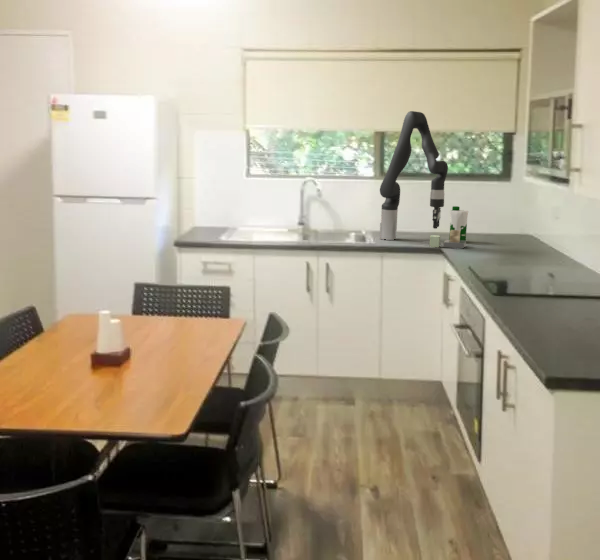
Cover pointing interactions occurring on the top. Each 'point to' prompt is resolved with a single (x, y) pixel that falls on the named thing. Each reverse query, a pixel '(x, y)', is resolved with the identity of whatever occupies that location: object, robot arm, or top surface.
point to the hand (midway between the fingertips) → (436, 227)
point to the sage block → (434, 241)
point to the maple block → (454, 235)
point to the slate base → (454, 244)
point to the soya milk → (458, 221)
